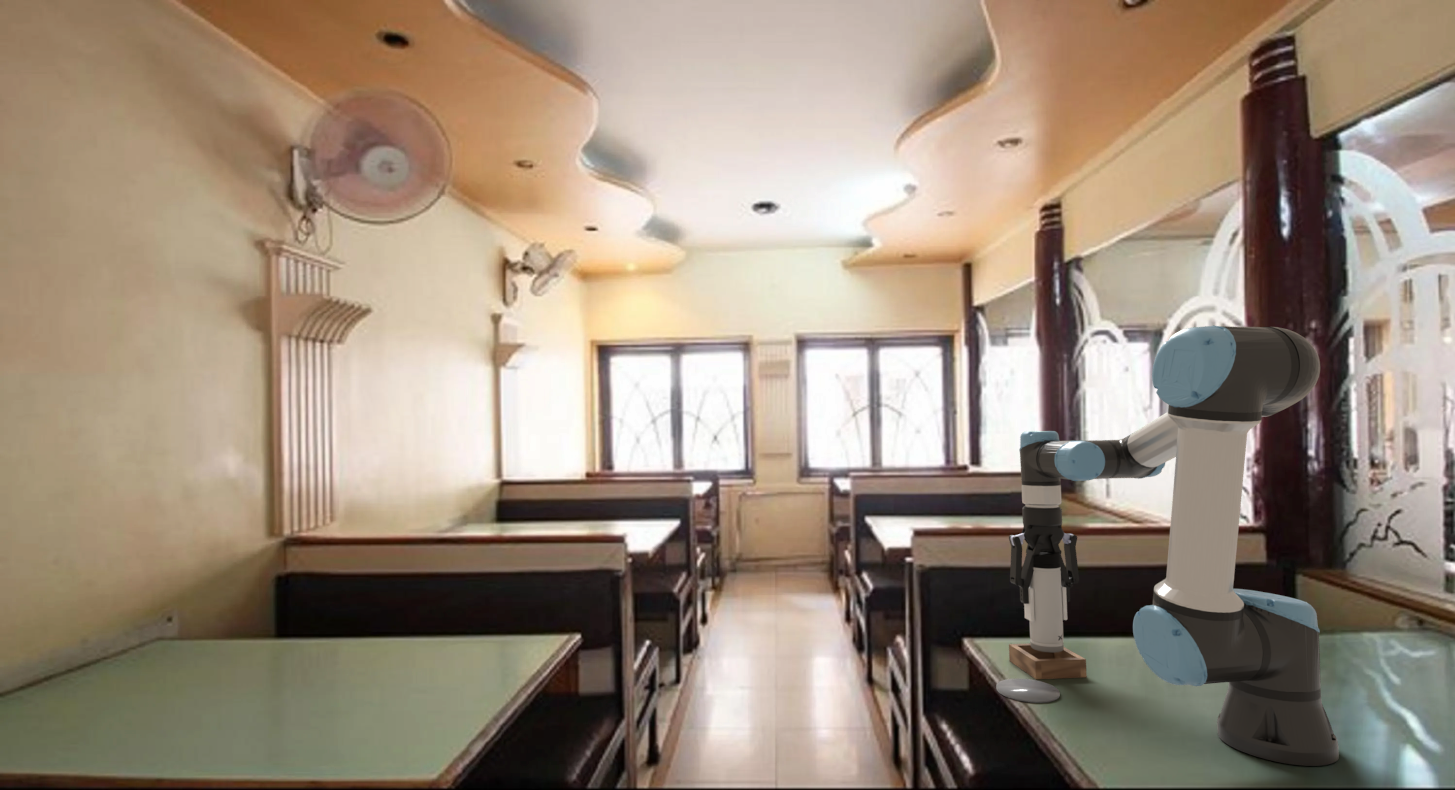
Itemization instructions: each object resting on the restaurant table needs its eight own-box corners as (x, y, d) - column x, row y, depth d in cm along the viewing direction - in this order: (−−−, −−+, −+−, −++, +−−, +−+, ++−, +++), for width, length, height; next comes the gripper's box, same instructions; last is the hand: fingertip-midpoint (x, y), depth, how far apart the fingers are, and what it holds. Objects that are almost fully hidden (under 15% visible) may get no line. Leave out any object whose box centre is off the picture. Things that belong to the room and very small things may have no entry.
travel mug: (1070, 652, 148) (1066, 552, 149) (1037, 653, 148) (1033, 552, 149) (1057, 644, 154) (1053, 547, 155) (1025, 644, 154) (1022, 547, 155)
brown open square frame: (1086, 677, 146) (1086, 659, 146) (1035, 679, 145) (1035, 661, 145) (1056, 659, 157) (1056, 642, 157) (1009, 660, 157) (1008, 644, 157)
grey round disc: (1071, 701, 134) (1071, 698, 134) (1012, 704, 133) (1012, 700, 133) (1041, 680, 144) (1041, 677, 144) (986, 682, 144) (986, 679, 144)
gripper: (1076, 502, 157) (1080, 613, 156) (988, 504, 156) (992, 616, 154) (1096, 506, 150) (1101, 622, 148) (1004, 508, 148) (1008, 625, 147)
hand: (1045, 618), depth 151 cm, fingers closed on travel mug, 6 cm apart
